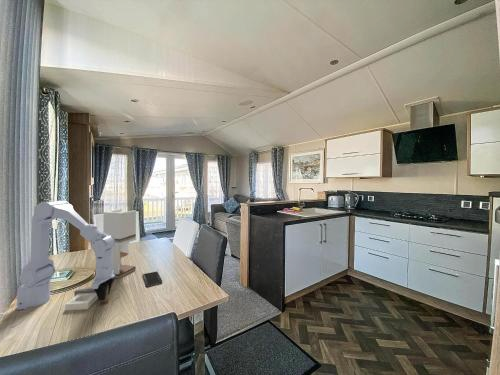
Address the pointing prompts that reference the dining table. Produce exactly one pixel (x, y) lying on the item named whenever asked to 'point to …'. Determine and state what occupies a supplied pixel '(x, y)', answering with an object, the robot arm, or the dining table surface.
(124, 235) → the white tower
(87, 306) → the holed block
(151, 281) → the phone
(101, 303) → the dowel
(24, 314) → the dining table surface
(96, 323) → the dining table surface
